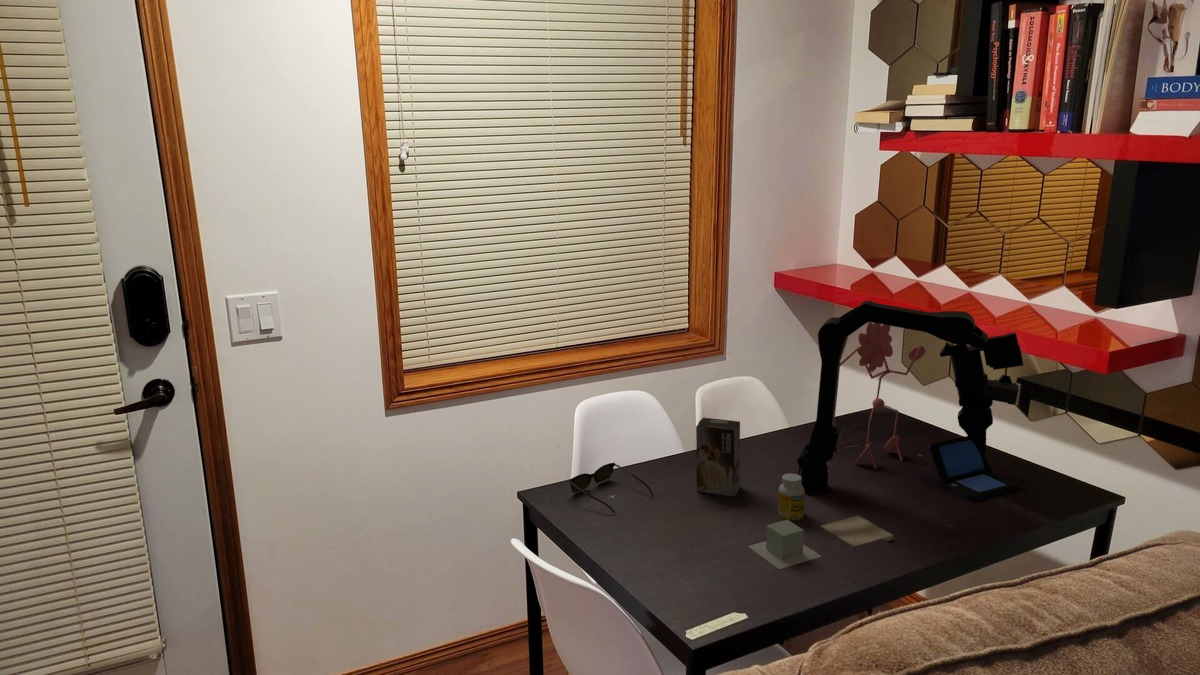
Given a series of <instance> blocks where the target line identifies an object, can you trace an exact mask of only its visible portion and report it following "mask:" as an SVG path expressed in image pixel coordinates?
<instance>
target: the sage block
mask: <svg viewBox="0 0 1200 675" xmlns="http://www.w3.org/2000/svg"><path fill="white" fill-rule="evenodd" d="M765 530H766V531H765V541H766V549H767V550H768V551H770V552H771V553H773V554H774V555H775V556H777V557H778V558H780V559H781V560H784V559H787V558H790V557H794V556H797V555H800V554H803V544H804V535H805V534H804V533H805V532H804V531H805V530H804V529H803V528H801V527H800V526H798V525H796V524H795V523H793V522H792V521H791V520H786V519H783V520H781V521H777V522H774V523H770V524H767V525H766V526H765Z"/></svg>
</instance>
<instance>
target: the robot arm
mask: <svg viewBox="0 0 1200 675" xmlns="http://www.w3.org/2000/svg"><path fill="white" fill-rule="evenodd" d="M869 322H871V323H872V324H873V323H878V324H881V325H889V326H891V327H896V328H901V329H906V330H911V331H912V330H913V331H917V332H923V333H926V334H928V335H932V336H933V337H935V338H937V339H940V340H942V341H945V345H944V346H943V347H942V349H941V350H940V352H939V356H940V357H942V358H943V357H950V360H951V366H952V369H953V375H954V376H953V377H954V386H955V388H956V389H957V390H956V391H957V395H958V405H959V407H961V409H960V410H959V411H958V412H957V421H958V422H957V423H958V427H960V428H961V429H962V430H963V432H964V433H965V434H966V436H969V438H970V439H971V440H972V442H973V443H974V444H975V446H976V447H977V449H978V450H979V451H980V452H981V453H982V452H985V453H986V452H987V430H988V429H989V428H990V427H991V426H992V425H993V424H994V417H993V411H992V408H991V407H992V405H993V404H994V403H993V402H994V401H995V402H1000V403H1006V404H1008V405H1011V406H1014V405H1016V403H1017V400H1018V396H1019V392H1020V391H1019V390H1020V389H1019V385H1018V384H1017V382H1013V381H1012V378H1011V376H1010V375H1006V374H1002V375H1001V376H1000V377H999V378H998V379H997V378H995V379H994V380H993V379H989V377H988V374H987V373H986V371H985V368H984V364H983V360H982V354H981V352H983V355H984V360H985V361H984V362H985V365H986V367H987V366H988V367H989V368H992V370H993V371H996V370H1003V369H1009V368H1017V367H1024V360H1023V355H1022V350H1021V345H1020V344H1019V340H1018V335H1017V332H1009V333H1007V334H1003V335H996V336H989V335H988V334H987V333H986V332H985V331H983V330H982V329H981V328H980V327H979V326H977V325H976V322H975V318H973V316H972V315H971V314H970V313H968V312H966V311H963V310H958V311H957V310H955V311H954V310H944V311H925V310H918V309H912V308H907V307H902V306H895V305H890V304H885V303H879V302H874V301H872V300H865V301H862V302H861V303H860V304H859V305H858V306H856V307H854V308H852V309H851V310H849V311H847V312H846V313H844V314H842V315H841V316H839V317H834V316H833V317H831V318H828V319H827V320H826V321H825V322H824V323H823V324H822V326H821V327H820V328H819V330H818V333H817V342H818V343H817V344H818V351H819V356H820V360H821V365H820V375H819V386H818V397H817V407H816V408H817V409H816V418H815V422H814V426H813V429H812V432H811V434H810V435H811V436H810V438H809V442H808V443H807V444H806V445H805V446H803V448H802V450H801V452H800V454H799V456H798V458H797V460H796V462H797V465H798V475H800V476H801V478H802V483H801V485H802V486H803V487H804V490H805V494H806V495H809V496H814V495H817V494H822V493H825V492H826V493H827V492H828V491H832V490H833V487H832V486H830V485H829V473H828V471H829V470H828V467H829V466H828V465H827V463H828V462H830V461H832V460H833V457H834V455H835V454H837V453H838V452H839V451H838V450H840V448H841V447H840V446H841V444H842V439H841V434H842V432H843V428H844V427H843V426H837V423H836V412H837V400H838V388H839V380H840V371H841V370H840V369H841V366H840V363H841V360H842V357H843V356H844V355H843V354H844V352H845V349H846V346H847V343H848V339H849V337H850V336H851V335H852V334H854V332H856V331H858V330H859V329H861V327H863V326H864V325H866V324H868V323H869Z"/></svg>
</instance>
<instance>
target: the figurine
mask: <svg viewBox="0 0 1200 675" xmlns="http://www.w3.org/2000/svg"><path fill="white" fill-rule="evenodd" d="M891 327H892V326H889V325H883V324H878V323H872V322H868V323H867V325H866V329H865V332H864V333H863V332H860V333H858V343H859V345H860V346H858V347H856V349H854V351H852V352H851V353H850V354H849V355H848V356H846V357H845V359H844V360H842V362H841V361H840V367H841V366H842V365H843V364H844V363H846V361H848V360H849V359H850V358H851V357H852V356H853V355H855V354H856V353H857V354H858V355H859V356H860V359H859V361H858V363H859V366H860V367H863V366H864V367H865V369H866V370H867V373H868V375H869V377H870V379H871V380H873V379H876V378H877V377H879V378H878V386H877V393H876V398H875V399H874V400H873V401H872V408H871V409H872V410H871V413H870V416H869V420H868V427H867V437H866V445H865V448H864V449H863V451H862V452H861V453H860V455H859V457H858V458H857V459H856V460H855V461H854V464H856V463H858V461H859V460H860V459H861V457H863V455H864V454H865V453H866V452H867V450H868V453H869V456H870V459H871V462H872V465H873V466H872V467H873V469H874V470H877V469H878V468H877V465H876V462H875V459H874V455H873V454H872V450H871V444H872V442H870V443H869V438H870V431H871V430H870V429H871V421H872V417H873V413H874V410H882V409H883V408H884V407H885V408H888V409H890V410H893V411H896V415H895V423H894V429H893V436H891V438H890V439H889V440H888V441H887V442H886V443H885V445H884V449H885V451H886V452H888V453H889V452H891V451H892V450H893V449H894V448H896V451H897V454H898V457H899V459H900V462H903V461H904V459H903V457H902V454H901V451H900V447H899V443H900V440H901V438H900V435H896V432H897V431H896V430H897V424H898V417H899V410H898V409H896V408H892V406H888V405H886V404H885V401H884V400H883V399H882V398H880V397H879V395H880V390H881V384H882V378H884V377H885V376H886V375H887V374H891V373H893V374H897V375H902V376H903V375H904V376H908V374H909V372H910V370H911V369H912V367H913V365H914V363H915V362H916V361H917V360H920V359H921V358H922V357H923V356H924V355H925V354H926V348H925V346H923V345H922V344H919V345H917V346H915V347H913V348H912V349H911V350H910V351H909V352H908V359H909V360H910V361H911V362H910V364H909V366H908V367H907V368H908V369H907V370H906V371H905V372H902V371H896V370H892V369H890V368H889V365H888V362H887V358H886V357H888V358H890V357H892V356H893V353H894V351H893V346H892V344H891V343H892V341H893V338H892V336H891V335H890V330H891ZM884 365H885V366H884ZM883 366H884V368H885V370H883V371H881V372H879V373H876V374H874V375H873V374H872V373H873V372H875V370H876V369H878V368H882V367H883ZM847 447H848V446H846V447H845V449H847ZM852 447H853V448H854V445H851V446H849V448H852ZM855 447H860V446H859V444H857V445H856V444H855ZM917 455H918V456H920V457H922V455H921V454H919V453H917Z"/></svg>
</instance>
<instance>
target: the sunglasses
mask: <svg viewBox="0 0 1200 675" xmlns="http://www.w3.org/2000/svg"><path fill="white" fill-rule="evenodd" d="M615 467H617V468H618V469H621V470H623V471H624V472H626V473H628V474H630V475H631V476H632V477H633V478H635V479H636V480H638V481H639V482H641V483H642V484H643V485H644V486H645V487H646V488H647V489H648V490H649V492H650V494H651V497H652V496H654V495H653V494H654V493H653V492H652V490H651V488H650V487H649V485H648V484H646V483H645V482H644V481H643V480H642V479H640V478H639V477H638V476H636V475H634V474H633V473H631V472H630V471H628V470H627V469H625V468H623V467H622V466H620V465H618V464H616V462H609V463H605V464H604V465H601V466H600V467H599V468H597V469H596V470H595V471H594V472H593V473H591V474H590V473H581V474H578V475H575V476H574V477H572V478H570V479H568V484H570V490H572V494H573V493H575V492H578V491H580V490H581V491H582V492H581V493H584V494H585V495H587V496H589V497H590V498H592V499H594V500H596V501H597V502H599V503H601V504H603V505H604V506H606V507H607V508H609V509H610V510H611V511H612V513H613V512H615V510H614V509H613V508H612V507H611V505H610V504H608V503H606V502H604V501H602V500H601V499H599V498H597V497H595V496H593V495H591V494H590V493H588V492H586V490H585V491H583V489H585V488H587V489H588V486H590V484H591V481H592V478H593V480H594V482H595V483H596V484H597V483H599V482H601V481H604V480H606V479H609V478H610V479H611V477H612V474H614V468H615ZM615 513H616V512H615Z"/></svg>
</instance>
